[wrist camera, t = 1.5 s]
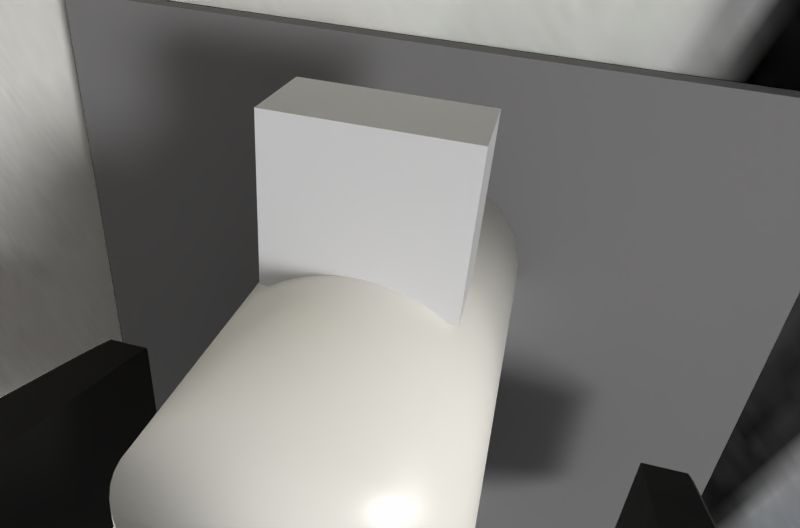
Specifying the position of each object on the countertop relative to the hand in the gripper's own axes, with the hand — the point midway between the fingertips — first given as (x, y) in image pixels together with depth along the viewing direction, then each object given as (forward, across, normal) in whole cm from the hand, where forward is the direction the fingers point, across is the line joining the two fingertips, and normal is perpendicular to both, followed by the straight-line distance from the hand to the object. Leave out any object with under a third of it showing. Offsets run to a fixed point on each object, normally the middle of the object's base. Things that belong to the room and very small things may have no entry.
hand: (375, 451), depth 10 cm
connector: (+1, 0, 0) cm, 1 cm away
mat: (+2, 0, 0) cm, 2 cm away
